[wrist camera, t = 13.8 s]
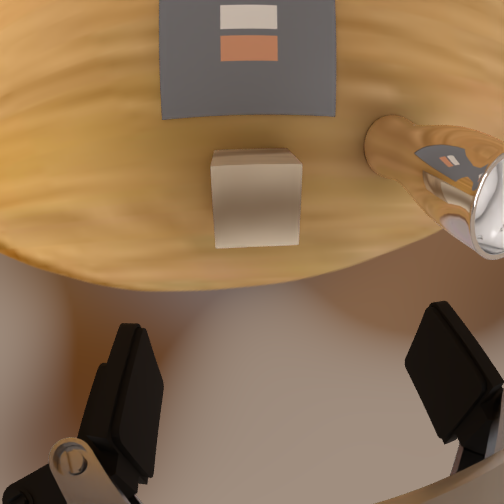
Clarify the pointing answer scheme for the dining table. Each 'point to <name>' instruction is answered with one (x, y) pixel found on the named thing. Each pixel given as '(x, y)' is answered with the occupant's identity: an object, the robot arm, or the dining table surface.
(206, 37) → the gray mat
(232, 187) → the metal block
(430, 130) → the beer glass
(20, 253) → the dining table surface
